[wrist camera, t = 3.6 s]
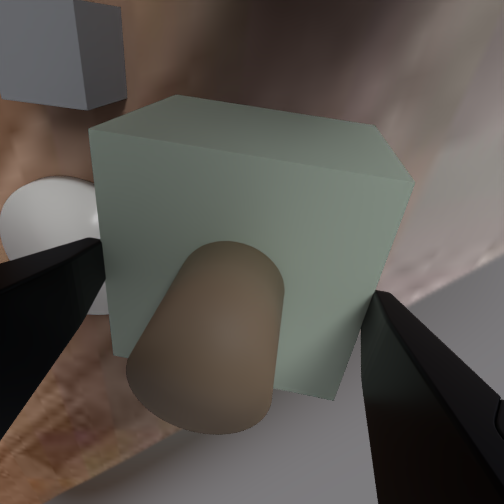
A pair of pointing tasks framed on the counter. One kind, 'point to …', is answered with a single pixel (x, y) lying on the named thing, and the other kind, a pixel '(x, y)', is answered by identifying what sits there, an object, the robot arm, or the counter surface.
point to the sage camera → (239, 252)
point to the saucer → (51, 220)
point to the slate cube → (61, 53)
